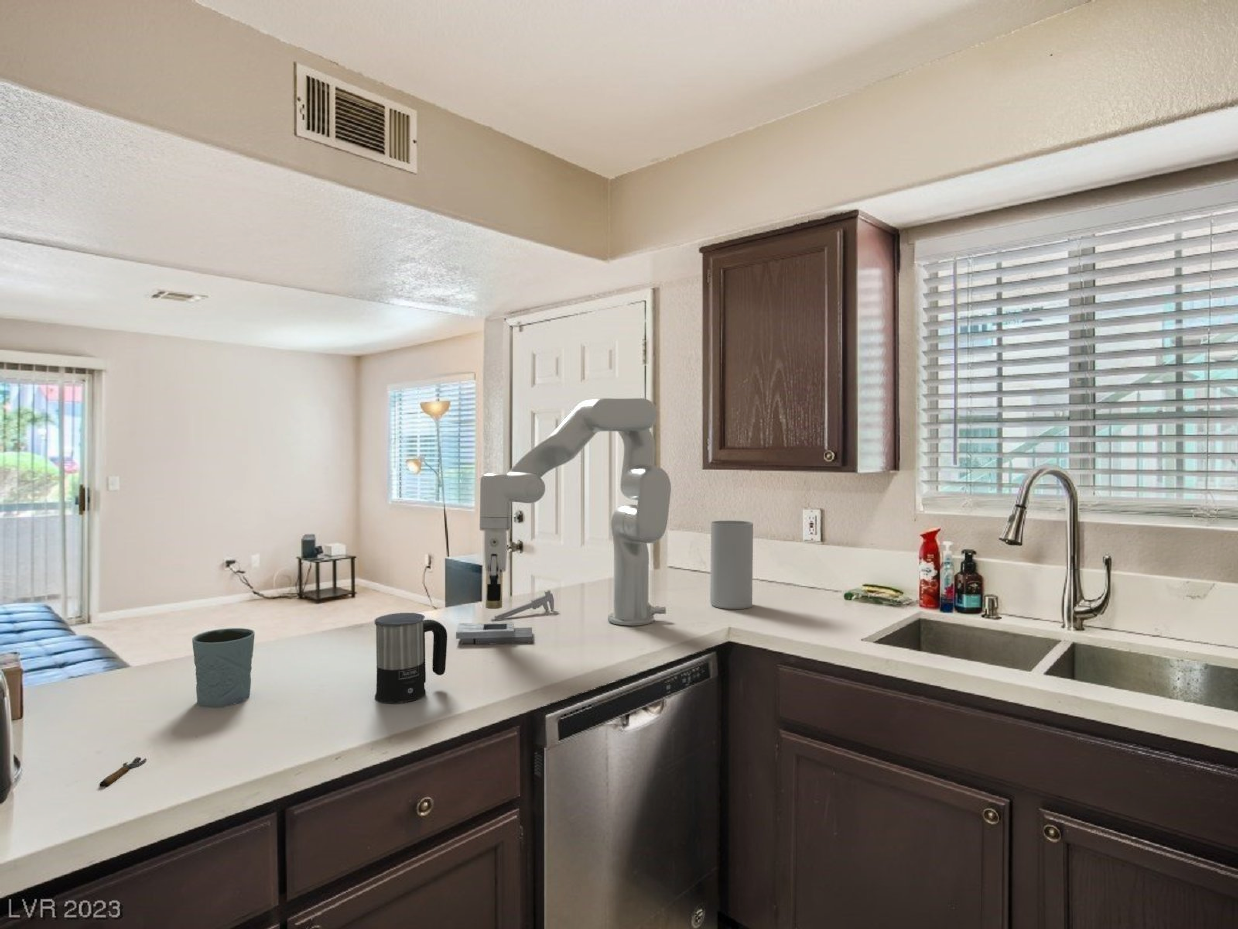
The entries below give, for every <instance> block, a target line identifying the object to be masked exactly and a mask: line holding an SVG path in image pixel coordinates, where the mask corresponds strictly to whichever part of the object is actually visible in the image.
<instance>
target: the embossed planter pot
mask: <svg viewBox="0 0 1238 929" xmlns="http://www.w3.org/2000/svg"><path fill="white" fill-rule="evenodd" d="M255 635H256V633H255V630H252V629H251V628H244V627H229V628H219V629H218V628H217V629H213V630H208V631H203V632H200V633H198V634H197V635H195V636H193V637H192V642H191V644H192V650H193V657H194V658H193V660H194V667H195V680H196V687H195V689H196V690H195V692H196V693H195V694H196V701H197V704H198V705H199V706H201V705H202V706H201V707H204V706H205V707H206V706H207V707H206V708H218V707H219V706H221V707H227V706H226V705H228V706H232V705H235V703H236V704H239V703H242V702H244V701H246V700H247V699H249V698H250V695H251V687H252V686H251V685H252V678H251V673H252V661H253V660H252V659H253V657H254V656H253V655H254V648H255V647H254V644H255ZM248 697H249V698H248ZM245 699H246V700H245ZM238 702H239V703H238ZM219 708H220V707H219Z"/></svg>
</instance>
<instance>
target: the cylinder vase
mask: <svg viewBox="0 0 1238 929" xmlns="http://www.w3.org/2000/svg"><path fill="white" fill-rule="evenodd" d="M753 549H754V522H752V521H744V520H713V521H710V574H709V575H710V578H709V579H710V580H709V581H710V583H709V586H710V588H709V589H710V591H709V592H710V594H709V596H710V597H709V598H710V599H709V600H710V601H709V602H710V603H709V604H711V606H713V607H715V606H716V607H715V608H718V607H719V609H722V608H724V609H723V610H745V609H748V608H751V607H752V606H753V580H754V579H753V576H754V575H753V568H754V566H753V564H754V562H753V560H754V558H753V557H754V556H753V555H754V550H753Z"/></svg>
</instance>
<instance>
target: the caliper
mask: <svg viewBox="0 0 1238 929" xmlns="http://www.w3.org/2000/svg"><path fill="white" fill-rule="evenodd" d="M542 607H543V610H544V611H545V610H546V611H545V612H547V611H548V612H549V611H552V610H553V611H554V610H555V599H554V595H553V593H551V590H550V589H547V591H546V590H545V591H544V595H540V596H539V597H536V598H534V599H531V601H529V602H527V603H524V604H521V605H519V606H516V607H514V608H511V609H508V610H506V611H503V612H500V613H498V614H495V615H494V617H492V618H491V619H490V621H491V620H492V622H494V621H500V620H499V619H502V620H504V619H506V618H509V617H512V616H514V615H517V614H520V613H523V612H525V611H528V610H530V609H533V610H536V609H540V608H542ZM549 609H551V610H549ZM493 620H494V621H493Z"/></svg>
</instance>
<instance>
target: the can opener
mask: <svg viewBox="0 0 1238 929" xmlns="http://www.w3.org/2000/svg"><path fill="white" fill-rule="evenodd" d="M137 762H138V763H137ZM146 762H147V758H144V759H142V758H141V757H140V756H137V757H135V758H134V759H133V760H132V762H130V763H129V762H127V761H126V762H123V764H122V766H121V767H120V768H118V770H116V771H115V772H112V773H111V774H109V775H108V776H107V777H105V778H103V779H102V780H101V782H99V788H107V787H109V786H110V785H112V784H114V782H116V781H117V780H118V779H120V777H122V776H123V775H125V774H126V773H127V772H129V771H130V769H131V768H138V767H141V766H143V765H144V764H145V763H146ZM128 763H129V764H128Z"/></svg>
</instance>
